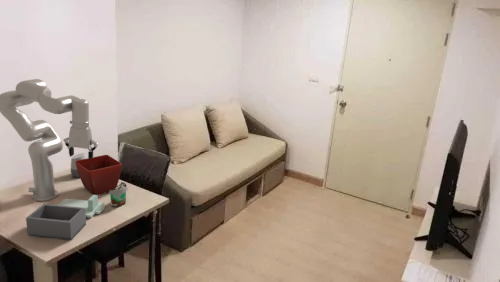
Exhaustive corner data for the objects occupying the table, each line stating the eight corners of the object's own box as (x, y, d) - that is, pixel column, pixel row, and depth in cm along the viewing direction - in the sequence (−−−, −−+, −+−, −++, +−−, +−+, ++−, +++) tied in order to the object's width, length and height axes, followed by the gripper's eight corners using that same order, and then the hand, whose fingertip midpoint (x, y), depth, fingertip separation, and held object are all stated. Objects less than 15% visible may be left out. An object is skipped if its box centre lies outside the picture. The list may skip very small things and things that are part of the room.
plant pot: (76, 187, 226) (74, 160, 221) (108, 180, 239) (107, 154, 234) (90, 200, 213) (88, 171, 208) (123, 191, 226) (122, 164, 221)
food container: (120, 209, 205) (120, 192, 202) (109, 207, 206) (109, 190, 203) (132, 199, 217) (131, 183, 214) (121, 198, 218) (121, 181, 215)
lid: (50, 215, 196) (49, 200, 193) (65, 202, 210) (64, 188, 207) (95, 219, 195) (94, 205, 192) (107, 206, 208) (107, 192, 206)
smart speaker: (73, 172, 246) (72, 151, 242) (89, 172, 247) (88, 151, 243) (68, 178, 237) (67, 156, 233) (84, 178, 238) (83, 157, 234)
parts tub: (27, 235, 177) (25, 218, 174) (45, 220, 190) (43, 203, 187) (71, 240, 176) (70, 222, 173) (86, 224, 189) (84, 207, 186)
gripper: (59, 124, 189) (60, 157, 194) (94, 129, 188) (94, 162, 194) (67, 120, 196) (68, 152, 201) (101, 124, 195) (101, 156, 201)
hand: (81, 157), depth 197 cm, fingers open, 9 cm apart
